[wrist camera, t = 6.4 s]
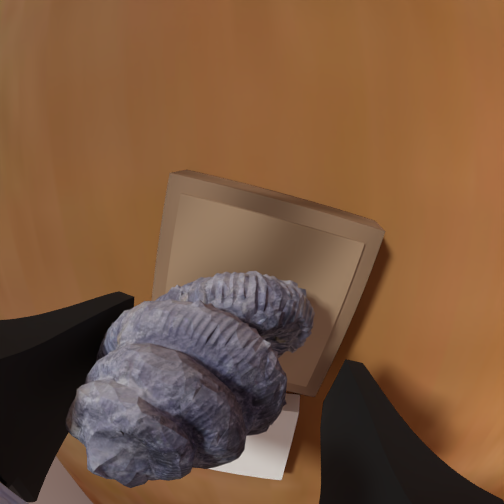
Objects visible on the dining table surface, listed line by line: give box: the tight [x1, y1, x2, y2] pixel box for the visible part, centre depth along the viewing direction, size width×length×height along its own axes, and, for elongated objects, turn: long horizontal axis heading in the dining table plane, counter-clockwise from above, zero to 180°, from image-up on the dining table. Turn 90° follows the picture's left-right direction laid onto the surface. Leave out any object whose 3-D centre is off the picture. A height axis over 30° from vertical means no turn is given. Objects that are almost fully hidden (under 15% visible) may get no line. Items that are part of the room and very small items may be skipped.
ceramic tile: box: [208, 393, 300, 480], centre depth 19 cm, size 8×8×2 cm
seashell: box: [65, 271, 315, 488], centre depth 9 cm, size 5×5×10 cm
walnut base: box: [152, 170, 385, 397], centre depth 15 cm, size 9×9×2 cm
